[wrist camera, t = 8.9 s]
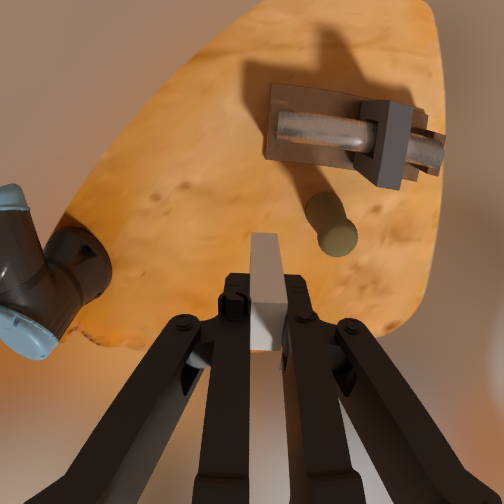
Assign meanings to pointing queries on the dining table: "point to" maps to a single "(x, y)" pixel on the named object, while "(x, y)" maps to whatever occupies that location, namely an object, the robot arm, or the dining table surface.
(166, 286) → the dining table surface
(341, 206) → the cork
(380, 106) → the collar
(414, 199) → the dining table surface
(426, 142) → the pipe rig
